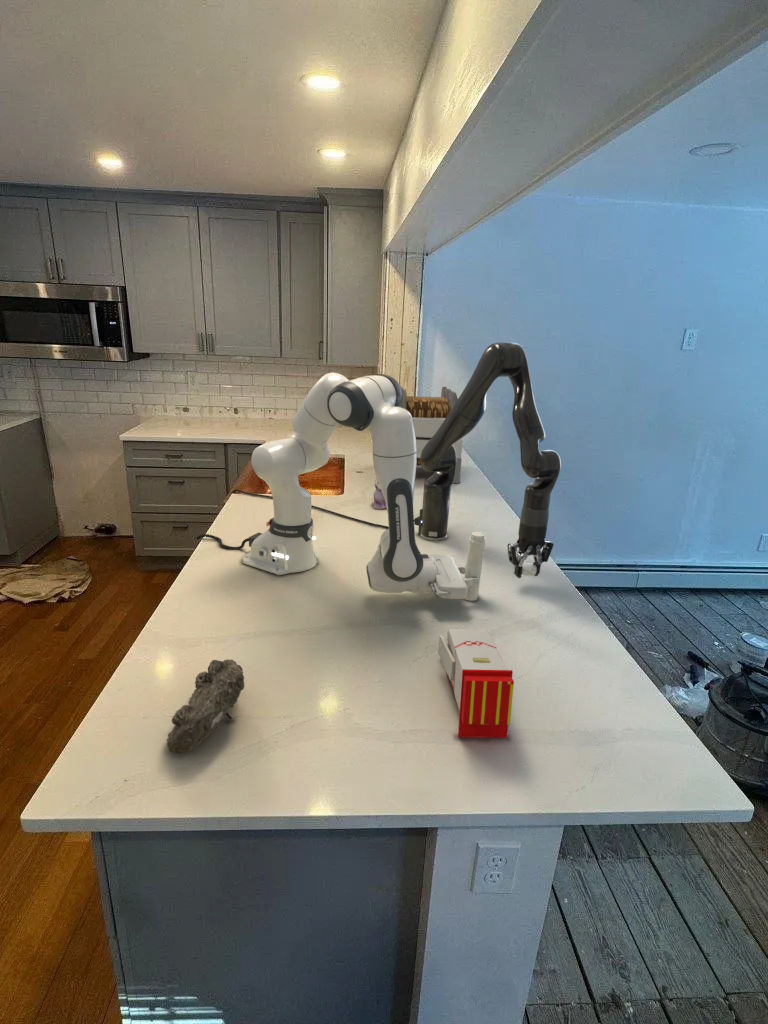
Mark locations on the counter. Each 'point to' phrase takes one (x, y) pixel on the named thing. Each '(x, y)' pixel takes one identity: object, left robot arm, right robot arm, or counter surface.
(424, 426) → the grey boxy piece
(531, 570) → the lid
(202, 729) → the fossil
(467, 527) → the counter surface
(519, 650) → the counter surface
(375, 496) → the figurine
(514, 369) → the right robot arm
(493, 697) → the toy
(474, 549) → the slender white bottle
